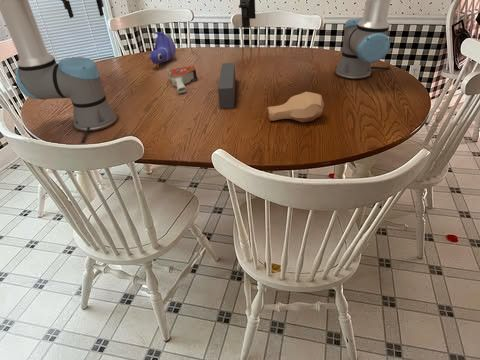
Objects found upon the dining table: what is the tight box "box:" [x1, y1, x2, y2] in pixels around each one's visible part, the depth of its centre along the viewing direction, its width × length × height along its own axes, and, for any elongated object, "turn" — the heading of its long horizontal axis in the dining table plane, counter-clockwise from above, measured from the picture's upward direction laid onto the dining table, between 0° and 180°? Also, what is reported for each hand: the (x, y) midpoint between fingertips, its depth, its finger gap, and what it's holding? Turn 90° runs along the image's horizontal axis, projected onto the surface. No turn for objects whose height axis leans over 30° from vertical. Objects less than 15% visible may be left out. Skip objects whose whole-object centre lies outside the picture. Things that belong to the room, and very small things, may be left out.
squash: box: [266, 91, 325, 123], centre depth 125 cm, size 11×20×9 cm, turn 92°
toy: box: [148, 31, 177, 69], centre depth 182 cm, size 10×17×25 cm
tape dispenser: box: [166, 65, 198, 94], centre depth 159 cm, size 18×5×20 cm
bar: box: [217, 62, 237, 109], centre depth 147 cm, size 29×6×8 cm, turn 179°
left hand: (86, 16), depth 157 cm, fingers open, 13 cm apart
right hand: (249, 22), depth 133 cm, fingers open, 13 cm apart
